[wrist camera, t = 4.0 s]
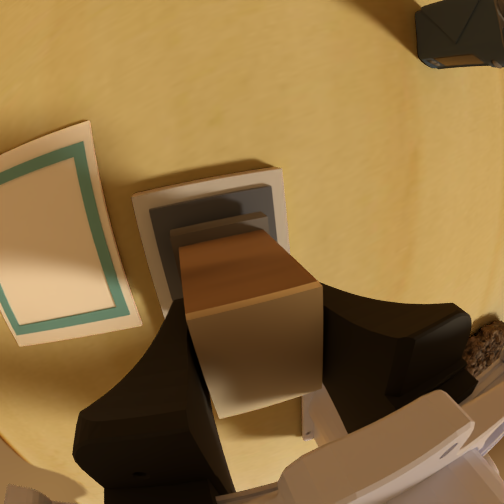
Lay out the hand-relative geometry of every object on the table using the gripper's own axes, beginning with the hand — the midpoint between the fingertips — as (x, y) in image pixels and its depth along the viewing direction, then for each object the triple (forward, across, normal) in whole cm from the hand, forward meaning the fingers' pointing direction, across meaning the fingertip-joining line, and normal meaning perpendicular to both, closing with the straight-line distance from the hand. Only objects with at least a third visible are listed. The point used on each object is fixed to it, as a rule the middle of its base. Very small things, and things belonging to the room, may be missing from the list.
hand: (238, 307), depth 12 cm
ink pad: (+4, 0, 0) cm, 4 cm away
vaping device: (+5, -16, -13) cm, 21 cm away
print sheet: (+4, +10, -3) cm, 11 cm away
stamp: (+2, 0, 0) cm, 3 cm away
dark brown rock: (+5, -30, +20) cm, 36 cm away
